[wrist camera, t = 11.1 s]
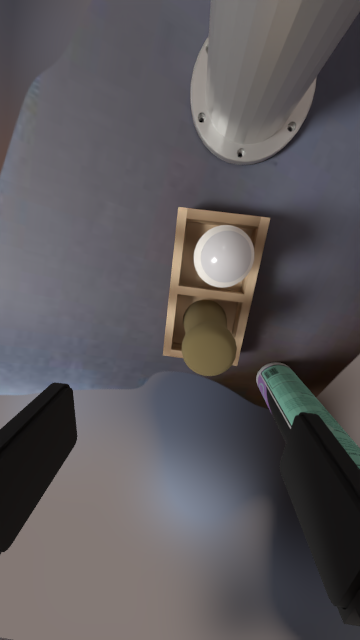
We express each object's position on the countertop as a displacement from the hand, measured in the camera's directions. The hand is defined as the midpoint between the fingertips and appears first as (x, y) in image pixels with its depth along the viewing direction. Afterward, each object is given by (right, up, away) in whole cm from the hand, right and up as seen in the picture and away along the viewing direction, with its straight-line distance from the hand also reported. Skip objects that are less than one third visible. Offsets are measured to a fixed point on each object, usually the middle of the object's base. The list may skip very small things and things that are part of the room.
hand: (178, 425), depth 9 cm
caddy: (+4, +9, +20) cm, 22 cm away
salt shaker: (+4, +12, +17) cm, 22 cm away
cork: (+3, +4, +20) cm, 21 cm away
